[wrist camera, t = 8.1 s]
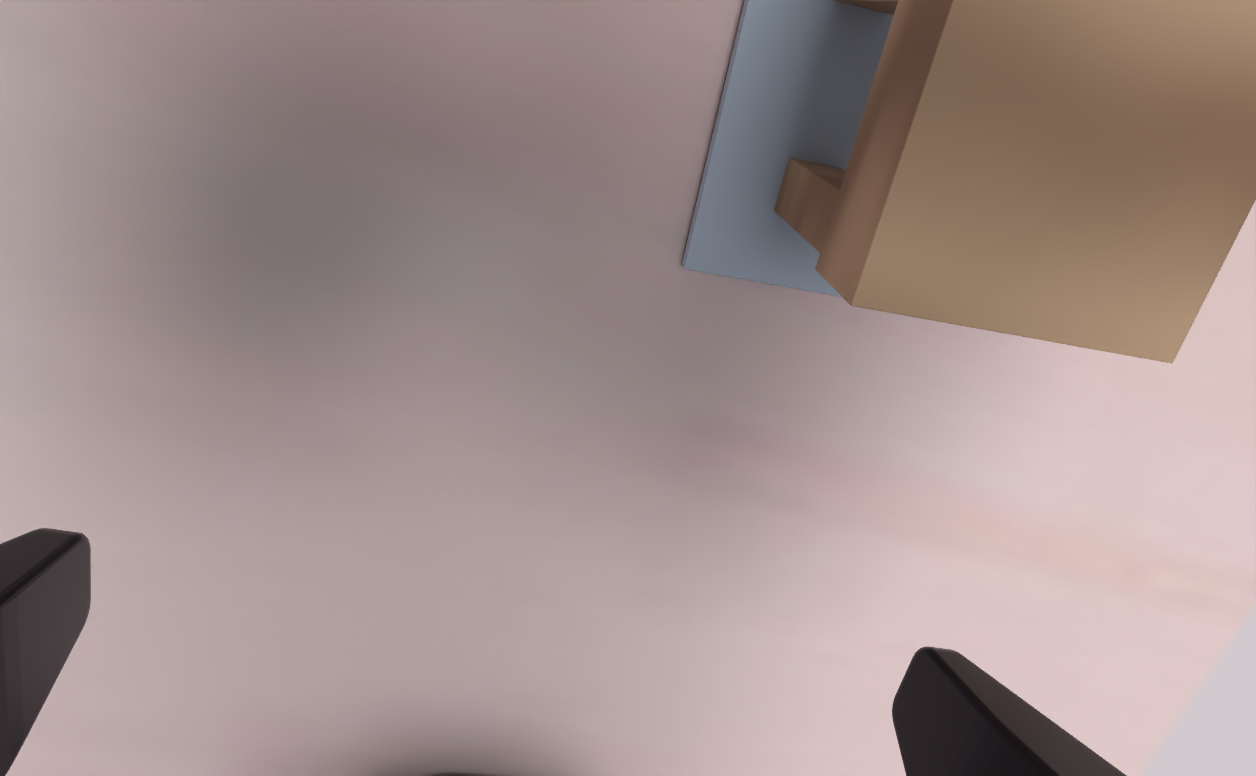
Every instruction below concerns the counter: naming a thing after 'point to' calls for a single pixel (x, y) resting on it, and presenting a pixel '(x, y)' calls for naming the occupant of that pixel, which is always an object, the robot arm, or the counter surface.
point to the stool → (1043, 168)
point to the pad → (781, 132)
